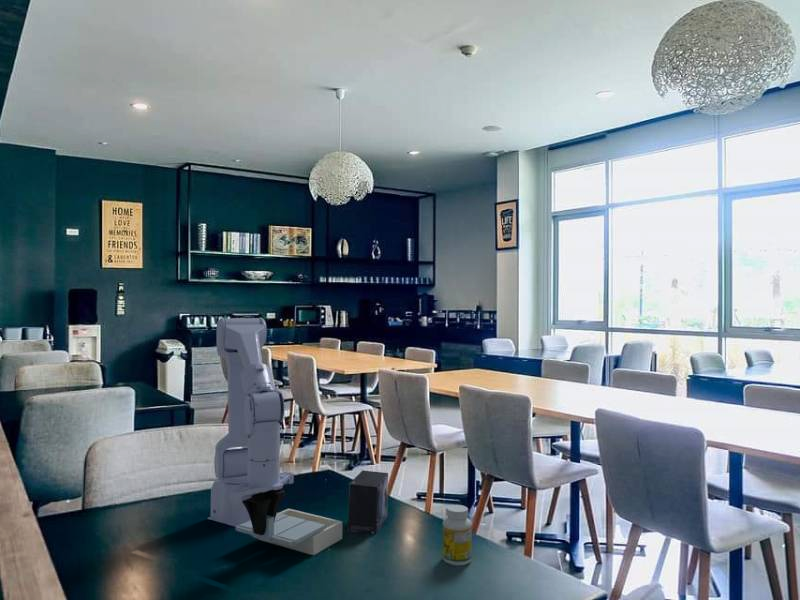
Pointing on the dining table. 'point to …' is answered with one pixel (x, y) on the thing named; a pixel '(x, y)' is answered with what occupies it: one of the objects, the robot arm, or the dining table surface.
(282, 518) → the lid
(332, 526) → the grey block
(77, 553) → the dining table surface
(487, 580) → the dining table surface
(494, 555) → the dining table surface
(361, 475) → the small box
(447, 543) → the supplement bottle
